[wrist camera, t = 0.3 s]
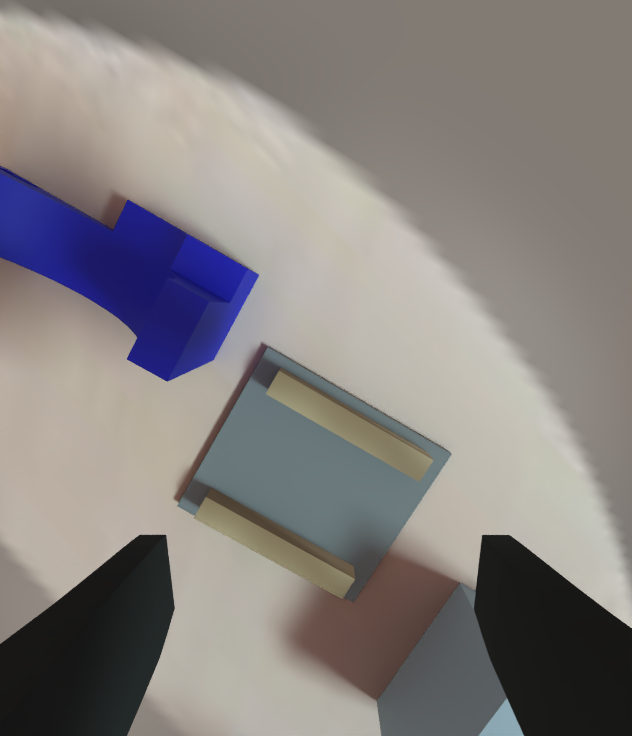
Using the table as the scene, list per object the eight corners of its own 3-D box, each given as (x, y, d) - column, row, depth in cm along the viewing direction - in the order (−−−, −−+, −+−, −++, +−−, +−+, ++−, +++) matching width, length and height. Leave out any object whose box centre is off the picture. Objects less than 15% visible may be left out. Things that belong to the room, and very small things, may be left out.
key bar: (433, 730, 22) (474, 884, 16) (376, 699, 22) (396, 844, 16) (518, 614, 21) (595, 734, 15) (459, 581, 21) (513, 689, 15)
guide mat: (352, 598, 21) (353, 602, 21) (179, 503, 20) (176, 506, 20) (449, 451, 20) (451, 454, 20) (268, 346, 19) (267, 347, 19)
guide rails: (341, 585, 21) (342, 599, 20) (199, 507, 20) (193, 517, 19) (427, 452, 20) (433, 459, 19) (281, 367, 19) (278, 370, 18)
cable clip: (259, 275, 19) (231, 259, 13) (214, 359, 20) (167, 381, 14) (22, 138, 18) (-122, 57, 12) (-18, 230, 19) (-173, 194, 13)
